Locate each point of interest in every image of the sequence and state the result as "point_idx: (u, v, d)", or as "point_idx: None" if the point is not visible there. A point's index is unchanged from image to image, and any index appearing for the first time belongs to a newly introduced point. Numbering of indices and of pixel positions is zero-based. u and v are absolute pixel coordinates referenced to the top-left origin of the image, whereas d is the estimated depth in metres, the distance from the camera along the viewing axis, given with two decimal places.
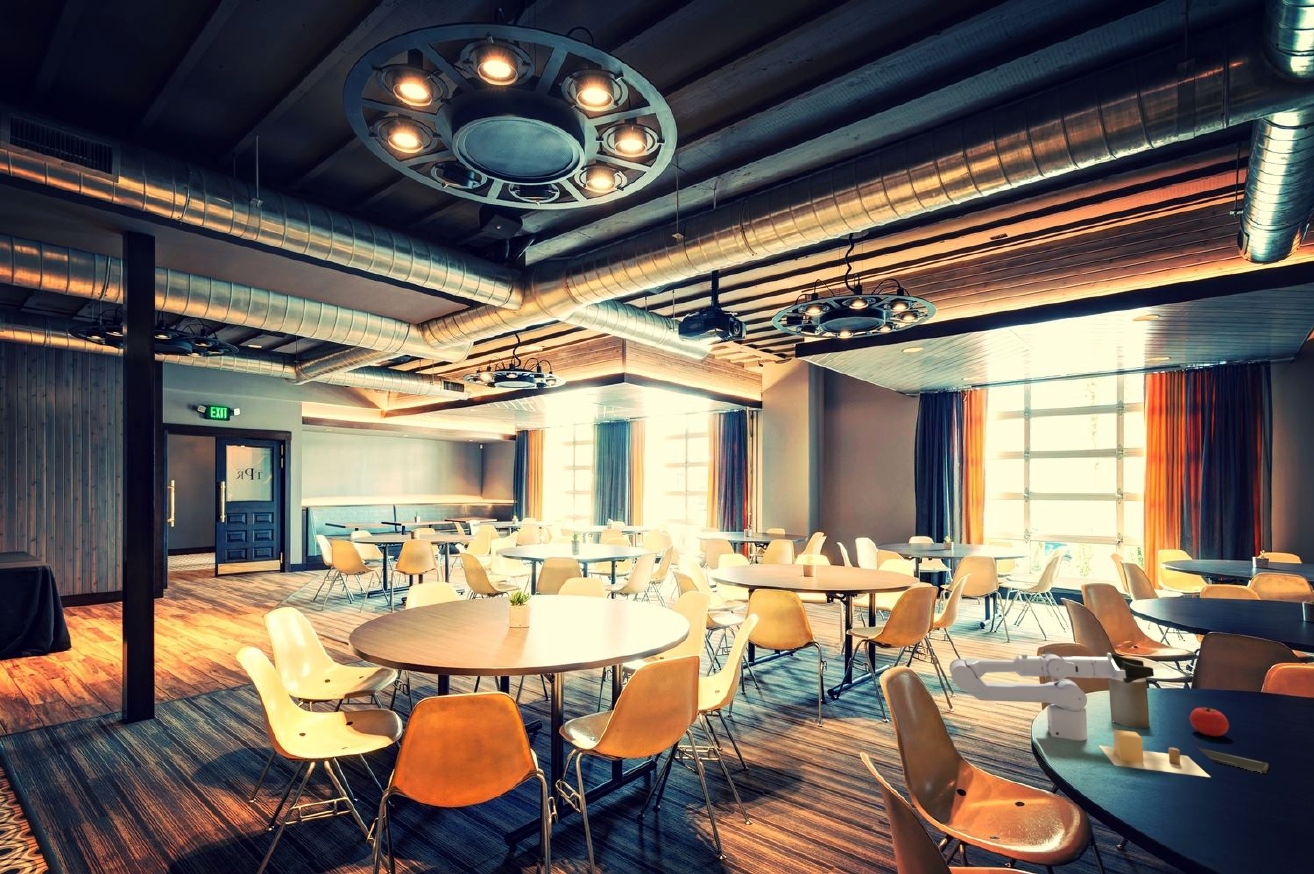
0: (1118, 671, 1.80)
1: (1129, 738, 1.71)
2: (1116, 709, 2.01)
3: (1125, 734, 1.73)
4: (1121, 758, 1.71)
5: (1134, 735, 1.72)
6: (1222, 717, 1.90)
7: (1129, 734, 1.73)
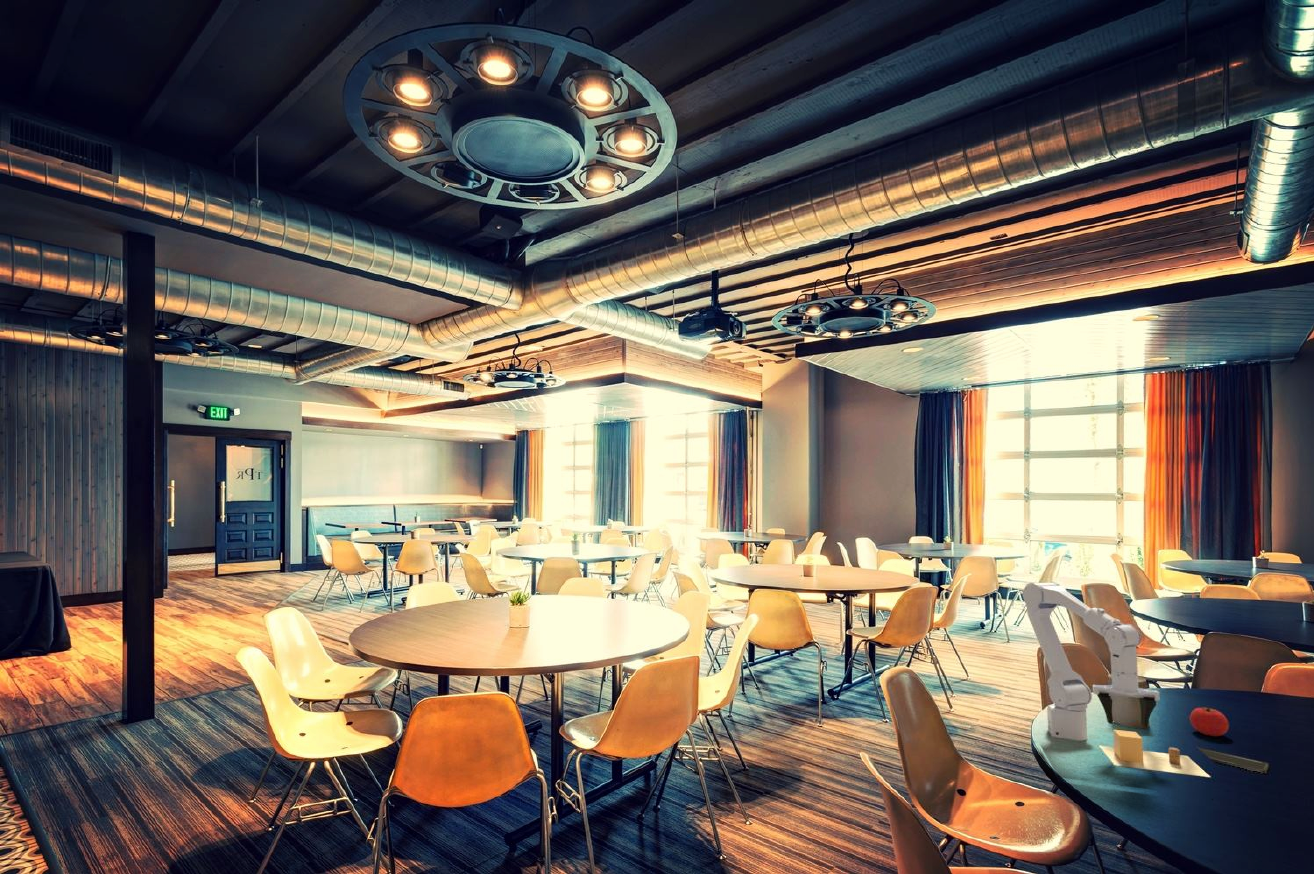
0: (1094, 687, 1.76)
1: (1129, 738, 1.71)
2: (1116, 709, 2.01)
3: (1125, 734, 1.73)
4: (1121, 758, 1.71)
5: (1134, 735, 1.72)
6: (1222, 717, 1.90)
7: (1129, 734, 1.73)
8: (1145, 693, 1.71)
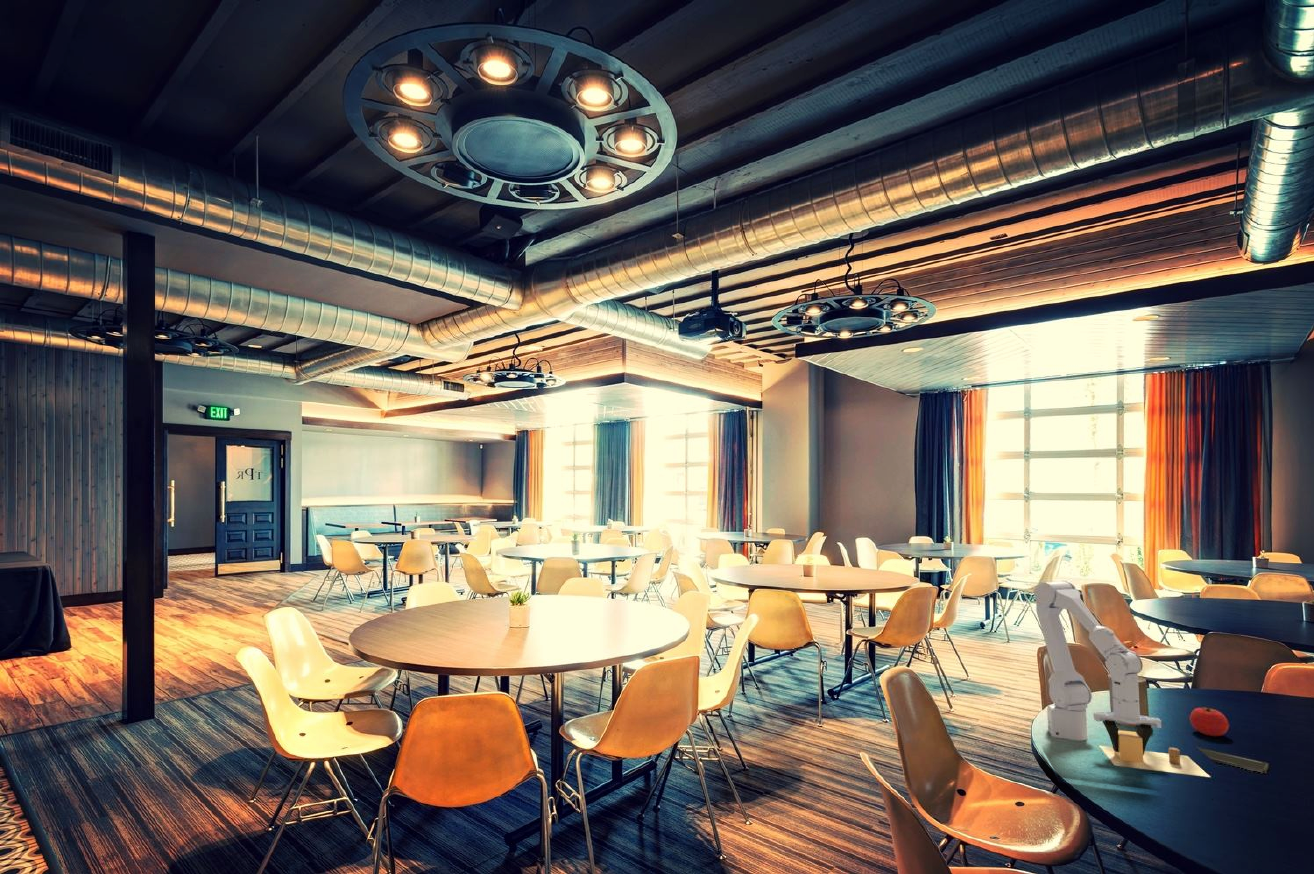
0: (1095, 714, 1.75)
1: (1129, 738, 1.71)
2: None
3: (1125, 734, 1.73)
4: (1121, 758, 1.71)
5: (1134, 735, 1.72)
6: (1222, 717, 1.90)
7: (1129, 734, 1.73)
8: (1146, 721, 1.70)
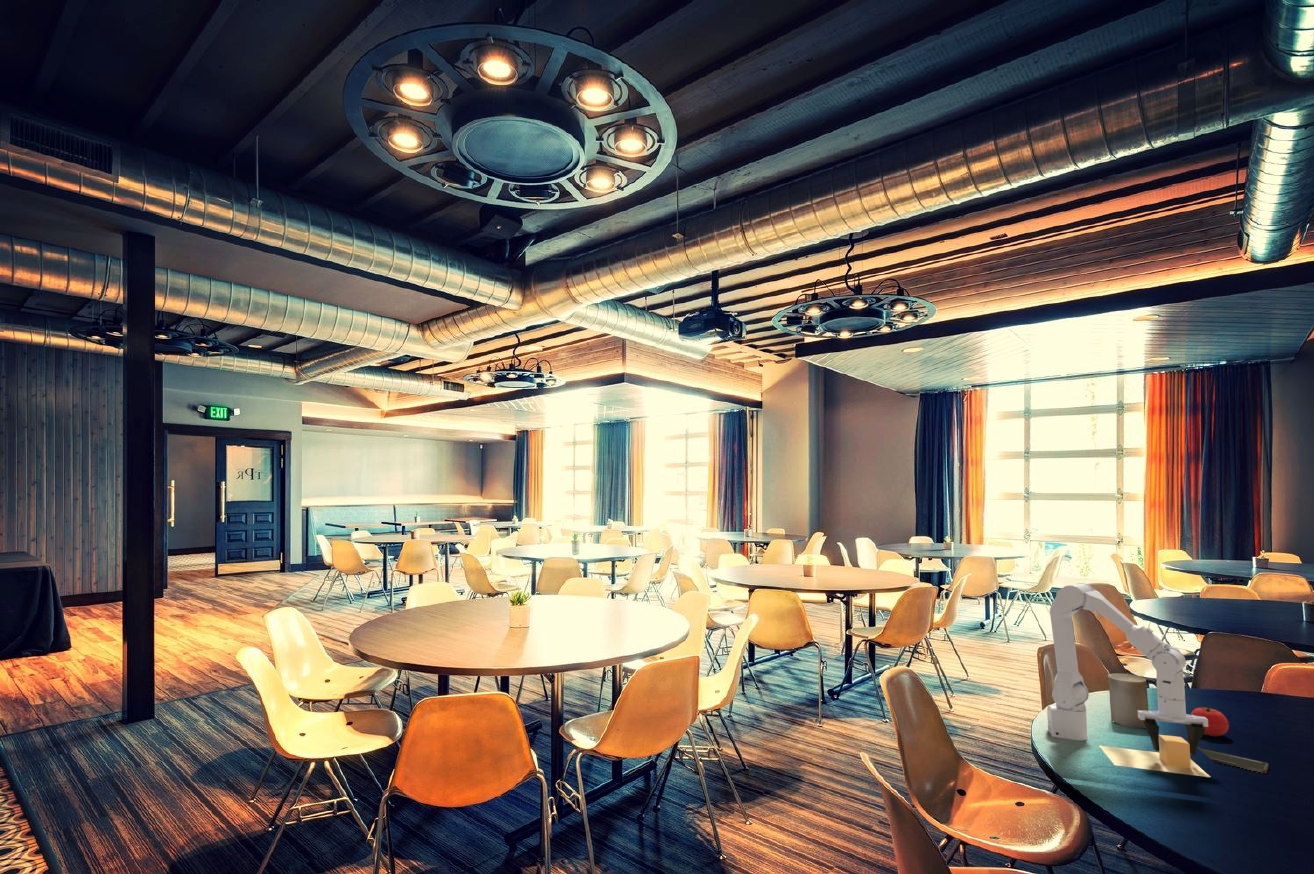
0: (1139, 713, 1.72)
1: (1176, 743, 1.67)
2: (1116, 709, 2.01)
3: (1171, 739, 1.69)
4: (1168, 764, 1.68)
5: (1180, 740, 1.69)
6: (1222, 717, 1.90)
7: (1175, 739, 1.69)
8: (1193, 720, 1.67)
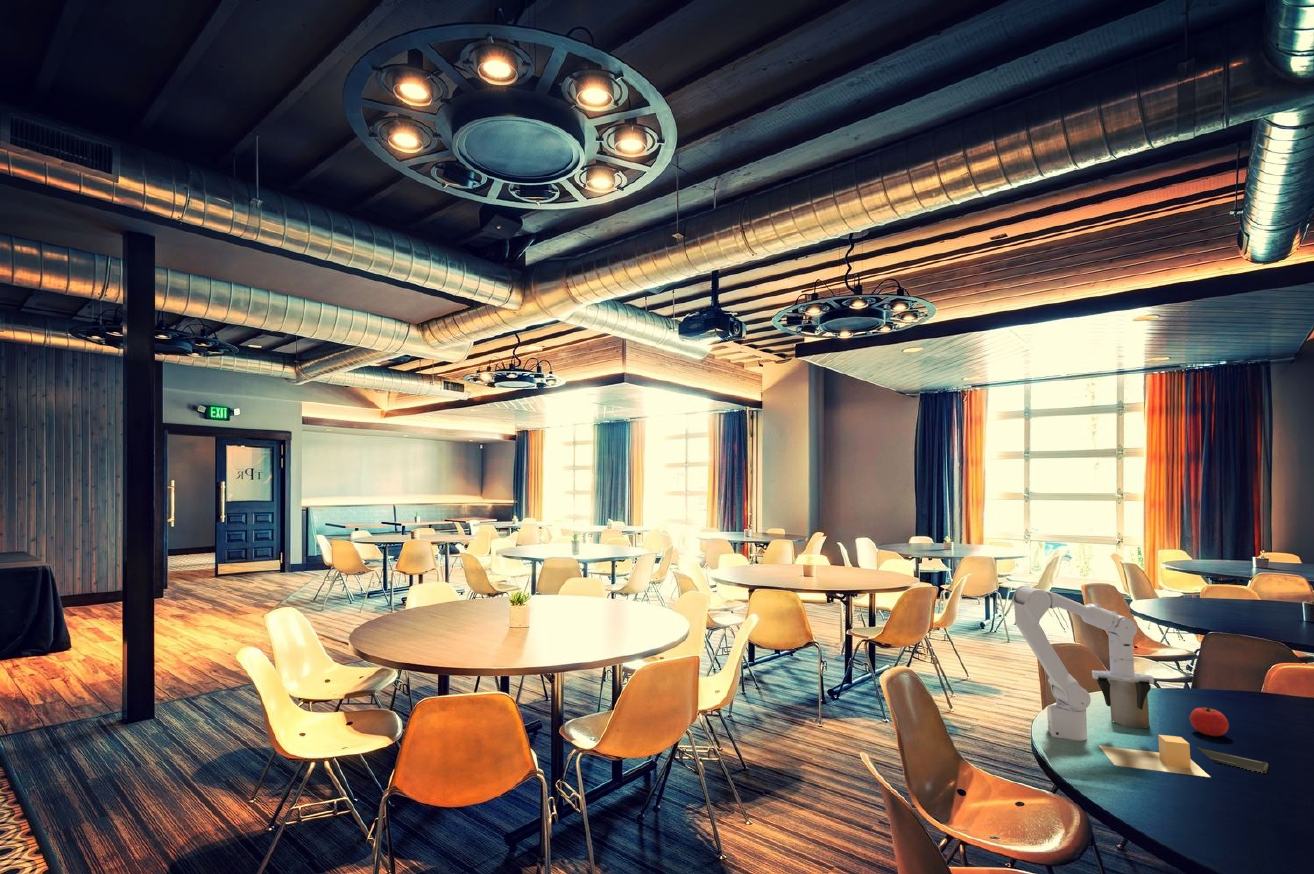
0: (1093, 672, 1.90)
1: (1176, 743, 1.67)
2: (1116, 709, 2.01)
3: (1171, 739, 1.69)
4: (1168, 764, 1.68)
5: (1180, 740, 1.69)
6: (1222, 717, 1.90)
7: (1175, 739, 1.69)
8: (1140, 678, 1.86)
